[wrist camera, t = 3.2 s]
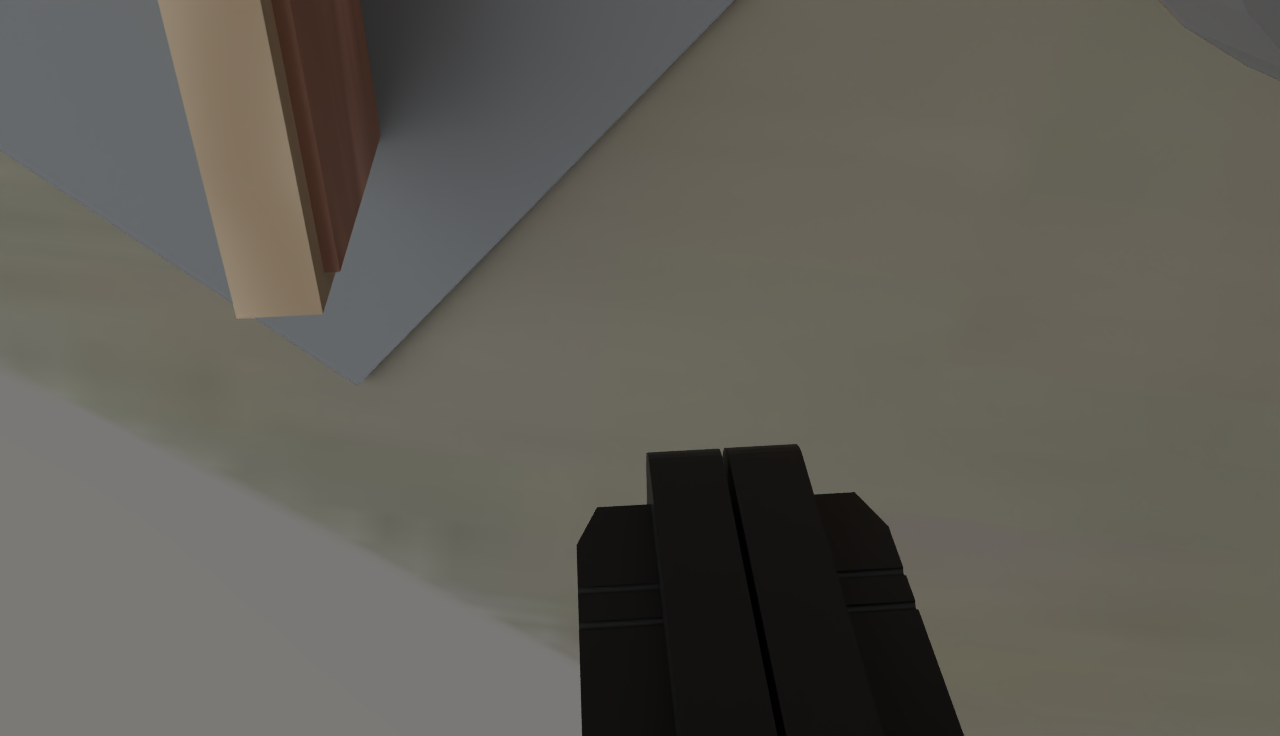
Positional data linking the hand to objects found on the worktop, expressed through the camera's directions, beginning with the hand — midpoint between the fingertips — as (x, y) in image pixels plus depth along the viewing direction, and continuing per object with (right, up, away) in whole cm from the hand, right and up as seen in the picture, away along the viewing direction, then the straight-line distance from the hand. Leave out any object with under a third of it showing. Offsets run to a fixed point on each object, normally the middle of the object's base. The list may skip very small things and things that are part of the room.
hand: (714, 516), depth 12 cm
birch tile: (-8, +10, +15) cm, 20 cm away
